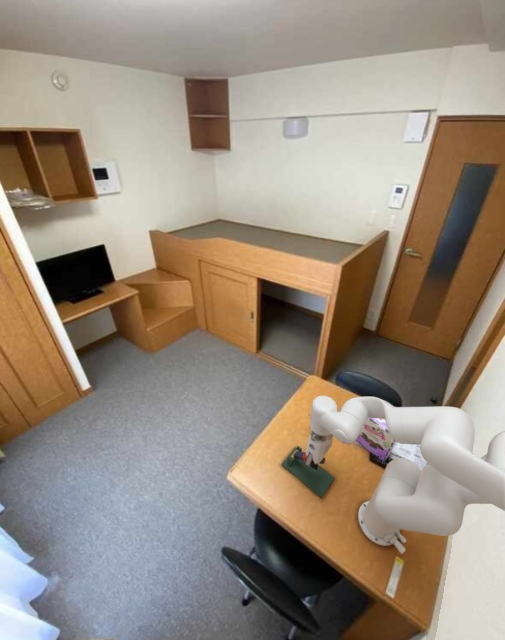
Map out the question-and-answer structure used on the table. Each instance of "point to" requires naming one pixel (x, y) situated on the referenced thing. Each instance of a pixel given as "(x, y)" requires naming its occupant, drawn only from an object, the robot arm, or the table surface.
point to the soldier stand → (309, 474)
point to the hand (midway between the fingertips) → (316, 462)
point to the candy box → (376, 438)
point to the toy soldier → (303, 456)
